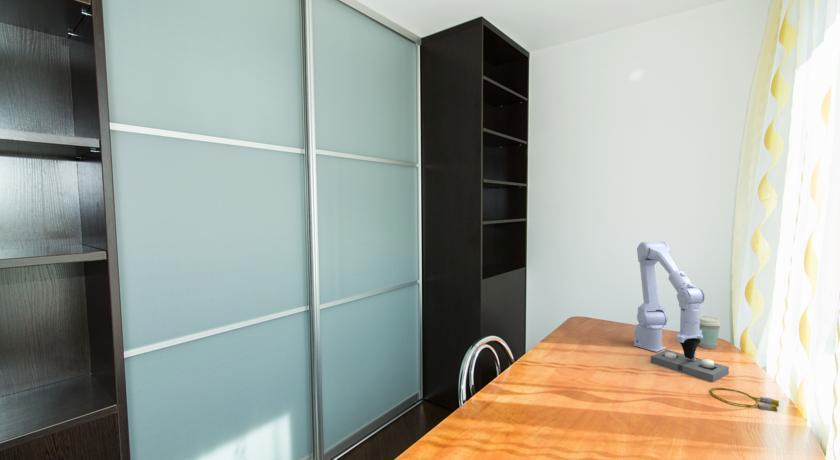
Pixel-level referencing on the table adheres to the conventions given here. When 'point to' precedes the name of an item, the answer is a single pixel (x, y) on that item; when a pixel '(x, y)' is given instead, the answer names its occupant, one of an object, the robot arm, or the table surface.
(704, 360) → the button
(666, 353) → the button
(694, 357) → the slider tab
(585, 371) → the table surface
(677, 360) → the switch panel
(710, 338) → the coffee cup
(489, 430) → the table surface
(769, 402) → the extension cord
